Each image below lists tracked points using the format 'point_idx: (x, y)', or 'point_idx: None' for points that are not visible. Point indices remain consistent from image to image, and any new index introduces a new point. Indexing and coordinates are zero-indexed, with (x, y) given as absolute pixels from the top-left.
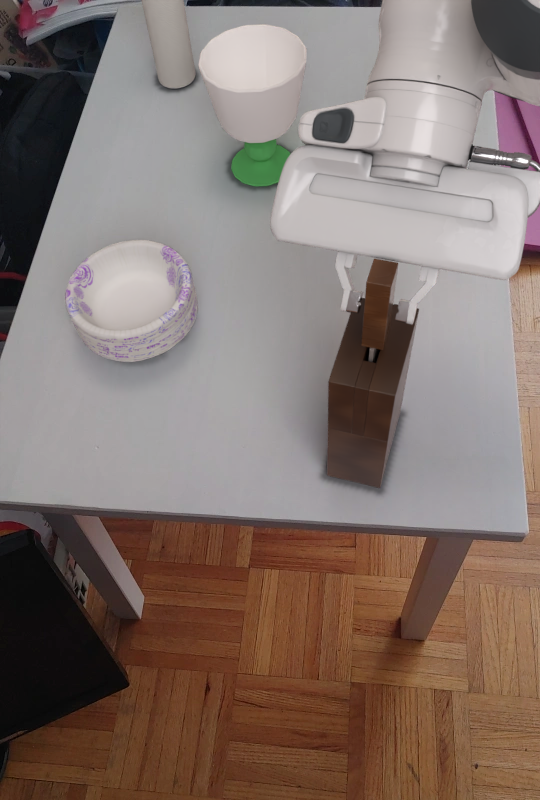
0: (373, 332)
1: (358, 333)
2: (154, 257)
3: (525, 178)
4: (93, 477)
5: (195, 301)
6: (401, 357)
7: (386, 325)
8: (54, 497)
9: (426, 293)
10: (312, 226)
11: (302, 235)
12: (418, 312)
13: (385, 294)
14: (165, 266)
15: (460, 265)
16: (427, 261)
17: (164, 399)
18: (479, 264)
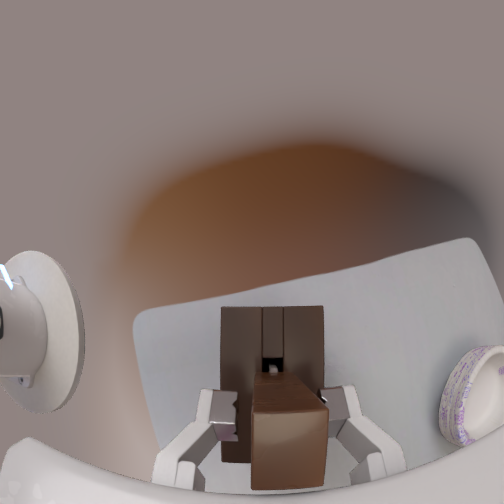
0: (277, 377)
1: None
2: (479, 436)
3: None
4: (446, 262)
5: (445, 423)
6: (226, 376)
7: (254, 383)
8: (455, 241)
9: (174, 438)
10: (479, 474)
11: (485, 450)
12: (221, 457)
13: (265, 403)
14: (471, 435)
15: (94, 478)
16: (171, 496)
17: (433, 344)
18: (57, 469)
